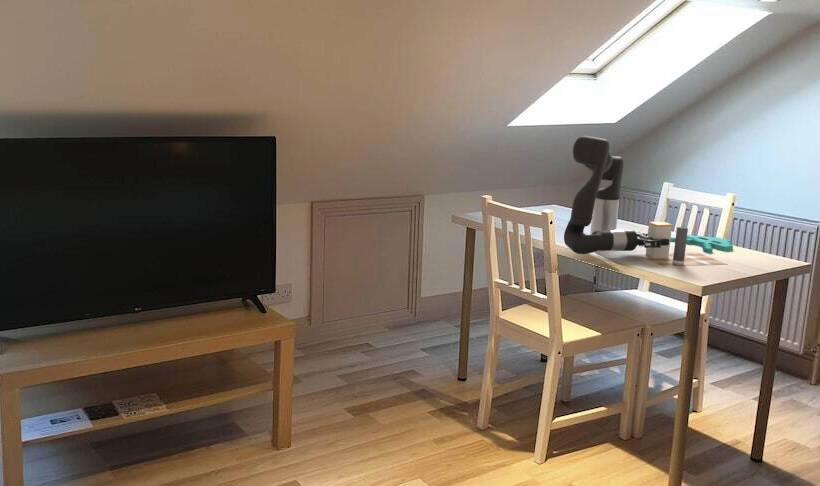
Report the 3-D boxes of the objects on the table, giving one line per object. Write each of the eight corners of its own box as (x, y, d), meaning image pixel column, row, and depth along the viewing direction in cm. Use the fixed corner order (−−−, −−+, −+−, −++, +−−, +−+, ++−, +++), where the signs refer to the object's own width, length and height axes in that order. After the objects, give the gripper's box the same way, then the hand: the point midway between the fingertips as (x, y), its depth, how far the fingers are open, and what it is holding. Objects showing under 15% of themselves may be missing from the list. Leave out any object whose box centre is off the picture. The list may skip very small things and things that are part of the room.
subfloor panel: (636, 258, 290) (637, 254, 289) (698, 256, 296) (698, 252, 296) (663, 270, 274) (664, 266, 273) (727, 268, 280) (728, 264, 280)
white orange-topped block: (645, 254, 290) (649, 221, 287) (660, 254, 291) (664, 221, 288) (653, 257, 285) (656, 224, 282) (668, 257, 286) (672, 224, 284)
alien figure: (707, 254, 303) (744, 250, 313) (708, 248, 302) (744, 244, 312) (667, 242, 320) (702, 239, 330) (667, 237, 319) (703, 233, 329)
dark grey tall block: (670, 262, 279) (674, 227, 276) (679, 262, 280) (684, 226, 277) (676, 265, 275) (680, 229, 272) (686, 265, 276) (690, 229, 273)
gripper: (632, 234, 275) (674, 233, 279) (611, 225, 288) (651, 224, 293) (630, 255, 277) (672, 254, 281) (609, 246, 290) (649, 245, 294)
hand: (661, 239), depth 287 cm, fingers open, 8 cm apart
